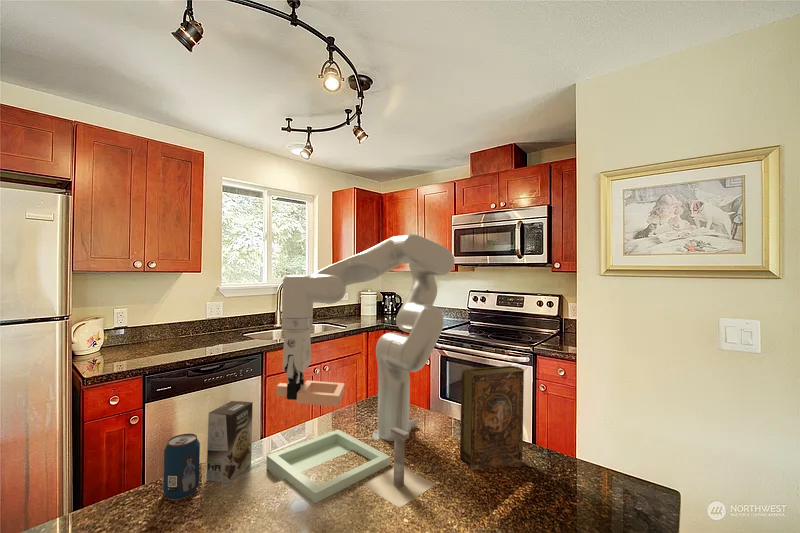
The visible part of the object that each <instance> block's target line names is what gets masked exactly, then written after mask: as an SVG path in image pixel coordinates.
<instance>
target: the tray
mask: <svg viewBox="0 0 800 533" xmlns="http://www.w3.org/2000/svg"><path fill="white" fill-rule="evenodd" d="M352 451H354V452H356V453H358V454H359V455H361V456H363V457H364V458H365V459H368V460H369V461H368V462H367V461H366V462H364V463H363V464H361V465H358V466H356V467H355V468H352V469H349V470H347V471H345V472H344V473H342V474H339V475H337V476H335V477H333V478H331V479H329V480H327V481H325V482H323V483H321V484H317V483H316V482H314V481H313V480H311V479H310V478H308V477H307V476H306V475H305V474H303V472H304V471H308V470H310V469H312V468H314V467H316V466H319V465H321V464H324V463H326V462H328V461H330V460H333V459H335V458H337V457H339V456H342V455H345V454H347V453H349V452H352ZM389 466H391V456H390V455H388V454H386V453H384V452H382V451H380V450H378V449H377V448H374V447H373V446H371V445H369V444H366V443H365V442H363V441H361V440H359V439H357V438H355V437H354V436H352V435H350V434H348V433H346V432H345V431H343V430H340V429H335V430H332V431H330V432H329V431H328V433H327V432H326V433H325V434H322V435H319V436H315V437H314V438H311V439H308V440H305V441H302V442H300V443H299V442H298V443H297V444H293V445H292V446H289V447H285V448H283V449H281V450H278V451H275V452H272V453H270V454H267V455H266V468H267V469H268V470H269V471H270V472H271V473H272V474H271V473H270V472H269V471H268V470H267V469H266V468H265V469H266V470H267V471H268V472H269V473H270V474H271V475H273V476H274V478H276V479H277V478H278V479H277V480H279V481H280V482H282V481H284V480H286V481H288V483H289V484H291V485H292V486H294V488H296V489H297V490H298V491H299V492H301V493H302V494H303V495H305V496H306V497H307V498H308V499H309V500H310V501H312V502H313V503H314V504H316V503H318V502H320V501H322V500H324V499H326V498H329V497H330V496H332V495H334V494H336V493H338V492H340V491H342V490H344V489H345V488H347V487H350V486H351V485H353V484H356V483H357V482H359V481H361V480H363V479H366V478H367V477H369V476H371V475H373V474H375V473H377V472H379V471H381V470H383V469H384V468H387V467H389Z"/></svg>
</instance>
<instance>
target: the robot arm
mask: <svg viewBox="0 0 800 533" xmlns="http://www.w3.org/2000/svg"><path fill="white" fill-rule="evenodd" d="M403 264H408V267H409V270H410V273H411V277H412V282H411V283H412V285H411V287H410V289H409V292H408V293H407V296H406V297H405V299H404V301H403V303H402V305H401V307H400V308H399V310H398V313H397V314H396V318H395V323H396V324H395V325H396V326H397V327H398V329H400V330H401V331H403V332H405V333H408V334H409V335H407V334H403V333H398V332H394V331H392V332H386V333H384V334H382V335H381V336H380V337H379V339H378V340H377V342H376V346H375V357H376V362H377V370H378V371H377V373H378V374H377V376H378V380H377V381H378V382H377V383H378V386H377V388H378V389H377V429H375V430H374V431H372V435H371V438H372V442H374V441H377V440H379V439H382V440H384V441H387V442H388V441H389V442H394V436H393V435H391V434H390V433H391V429H392V428H394V427H396V428H399V429H401V430H403V431H406V432H408V433H409V434H410V433H411V432H412V429H413V428H414V427H416V426H417V425H419V424H420V420H419V418H417V417H416V418H413V419H411V420H410V401H411V399H410V392H411V390H410V389H411V388H410V387H411V377H410V373H416V372H418V371H420V370H422V369H423V368H424V366H425V365H426V363H427V362H428V360H429V358H430V356H432V355H431V354H432V352H433V351H434V349H435V347H436V344H437V342H438V340H439V338H440V335H441V333H442V331H443V328H444V316H443V312H442V311H441V310H440V309H439V307H437V306H435V305H434V303H435V300H436V299H437V296H438V287H437V283H436V279H435V276H445V275H448V274H450V272H451V271H453V269H454V266H455V257H454V254H453V253H452V251H451V250H450V249H449V248H447V247H446V246H443V245H441V244H440V243H437V242H434V241H432V240H430V239H428V238H426V237H423V236H421V235H419V234H415V233H414V234H413V233H411V234H409V233H408V234H402V235H401V234H399V235H394V236H391V237H389V238H388V239H385V240H383V241H381V242H380V243H378V244H376V245H374V246H372V247H370V248H368V249H365V250H363V251H362V252H360V253H357V254H354V255H351V256H350V257H347V258H345V259H343V260H340V261H338V262H335V263H333V264H330V265H328V266H326V267H324V268H321V269H320V270H317V271H316V272H314V273H312V274H310V275H307V274H306V275H305V274H303V275H302V274H301V275H300V274H289V275H288V274H287V275H286V276H284V278H283V279H282V302H281V306H282V307H281V331H282V332H284V337H283V348H282V371H283V372H284V373H286V380H287V381H286V382H287V383H286V384H287V397H286V399H287V400H292V401H293V400H294V401H297V392H298V391H299V390H300V389H301V385H304V384H305V379H304V378H305V370H306V369H308V368H309V366H310V365H311V362H312V346H311V345H312V343H311V339H312V338H311V331H312V330H313V321H314V320H313V319H314V318H313V315H314V304H315V303H318V304H319V303H320V304H327V305H329V304H330V305H332V304H336V303H339V302H340V301H342V300H343V298H344V297H345V295H346V291H347V287H346V286H351V285H353V284H359V283H365V282H370V281H373V280H376V279H377V278H379V277H381V276H383V275H385V274H386V273H388V272H390V271H392V270H393V269H395V268H397V267H398V266H401V265H403Z"/></svg>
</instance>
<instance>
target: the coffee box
mask: <svg viewBox="0 0 800 533" xmlns="http://www.w3.org/2000/svg"><path fill="white" fill-rule="evenodd" d="M253 403H254V402H253V401H244V400H243V401H241V400H239V401H238V400H237V401H236V400H230V401H229V402H227V403H225V404H223V405H221V406H219V407H217V408H215V409H213V410H211V411H210V412H208V422H207V423H208V425H207V449H206V450H207V452H206V453H207V454H206V456H207V457H206V481H209V482H210V481H211V482H217V483H223V484H230V483H232V481H234V480H235V479H236V478H238V476H240V474H242V473H243V472H244V471H245V470H247V467H248V466H249V465H250V464H251V465H252V443H253V441H252V440H253ZM251 465H250V466H251ZM250 466H249V467H250ZM249 467H248V468H249ZM243 470H244V471H243ZM242 471H243V472H242ZM241 472H242V473H241ZM235 477H236V478H235ZM234 478H235V479H234ZM229 482H230V483H229Z"/></svg>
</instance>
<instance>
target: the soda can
mask: <svg viewBox="0 0 800 533" xmlns="http://www.w3.org/2000/svg"><path fill="white" fill-rule="evenodd" d="M200 448H201V443H200V440H198V436H197V434H195V433H181V434H178V435H175V436H172V437H171V438H169V439H168V440H167V444H166V445H165V447H164V450H163V483H162V484H163V486H162V488H163V489H162V490H163V491H162V493H163V494H164V496H165V497H166V498H167V499H168V500H171V501H180V500H184V499H186V498H188V497H190V496H192V495H194V493H195V492H196V491H197V489H198V487H199V485H200V456H201V455H200V454H201V453H200V452H201V450H200Z"/></svg>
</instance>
